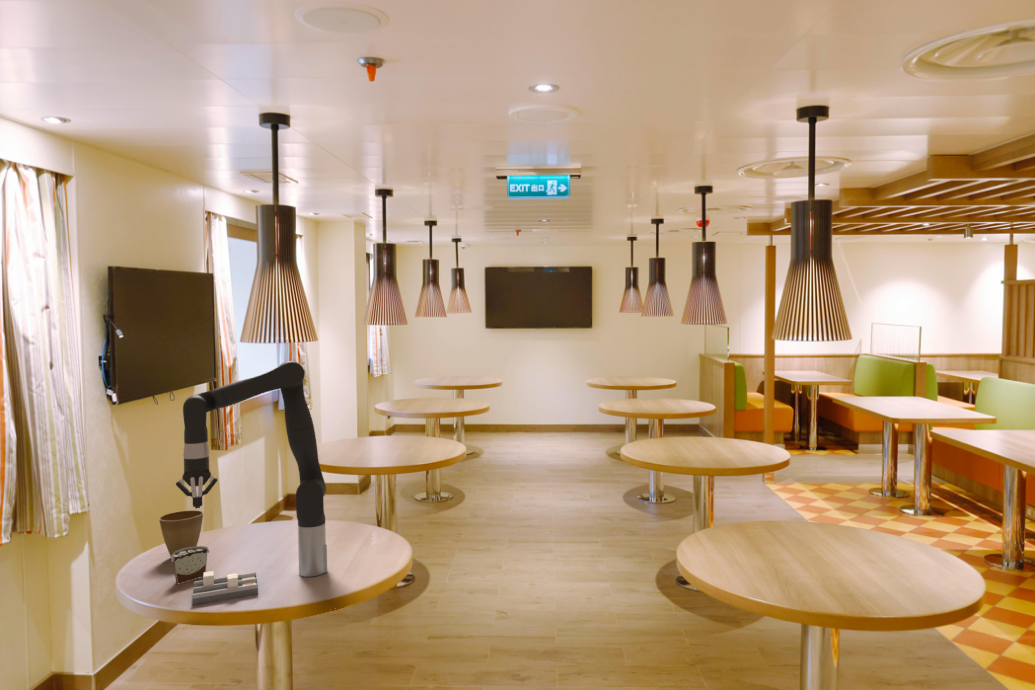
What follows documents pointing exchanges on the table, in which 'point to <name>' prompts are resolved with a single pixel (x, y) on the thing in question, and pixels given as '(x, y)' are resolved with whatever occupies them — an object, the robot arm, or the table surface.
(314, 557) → the robot arm
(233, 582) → the near tab
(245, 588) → the switch panel
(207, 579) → the far tab
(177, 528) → the plant pot
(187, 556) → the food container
